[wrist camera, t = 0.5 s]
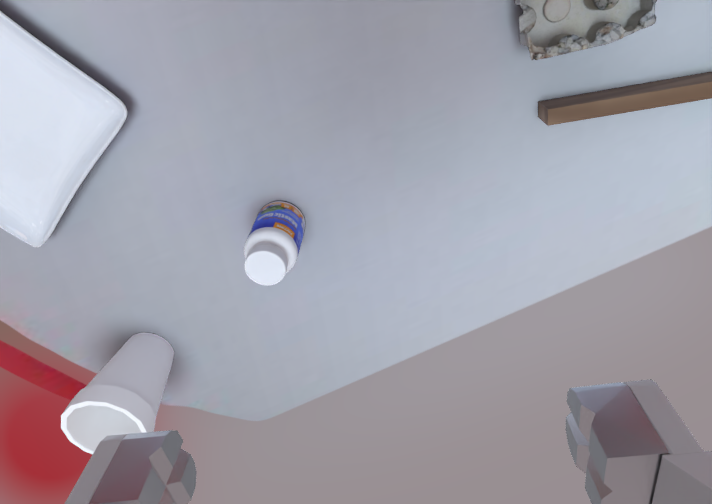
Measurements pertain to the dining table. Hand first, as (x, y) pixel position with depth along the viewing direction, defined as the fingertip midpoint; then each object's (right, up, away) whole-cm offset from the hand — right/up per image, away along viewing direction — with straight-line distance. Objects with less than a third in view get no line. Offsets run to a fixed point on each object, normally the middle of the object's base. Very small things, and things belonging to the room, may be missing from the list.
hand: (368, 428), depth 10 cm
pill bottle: (-9, +7, +45) cm, 46 cm away
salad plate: (-36, +18, +39) cm, 56 cm away
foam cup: (-28, -9, +55) cm, 62 cm away
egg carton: (+20, +25, +34) cm, 47 cm away
